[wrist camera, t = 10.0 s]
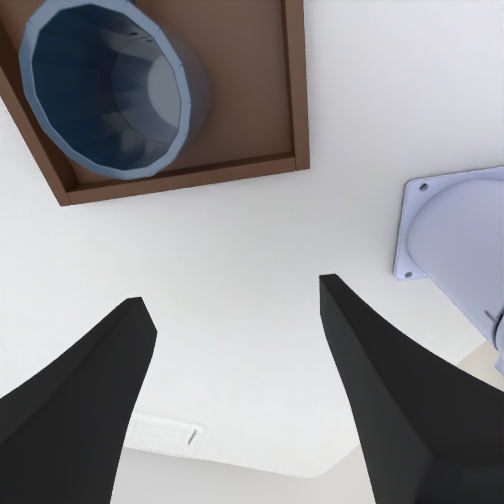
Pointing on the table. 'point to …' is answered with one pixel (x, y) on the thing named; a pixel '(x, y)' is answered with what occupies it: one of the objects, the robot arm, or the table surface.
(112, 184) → the tray
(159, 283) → the table surface
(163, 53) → the cup
